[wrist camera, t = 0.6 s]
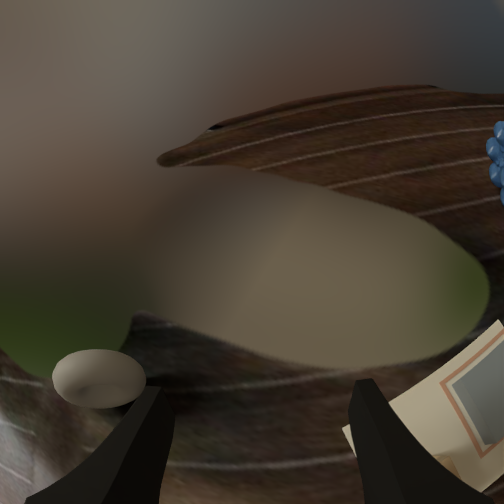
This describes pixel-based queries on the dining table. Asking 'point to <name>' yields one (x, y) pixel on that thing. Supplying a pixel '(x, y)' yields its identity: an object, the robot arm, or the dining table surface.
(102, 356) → the donut
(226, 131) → the dining table surface
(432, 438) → the white flat sheet
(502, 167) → the blue lumpy rounded block
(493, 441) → the slate slab
